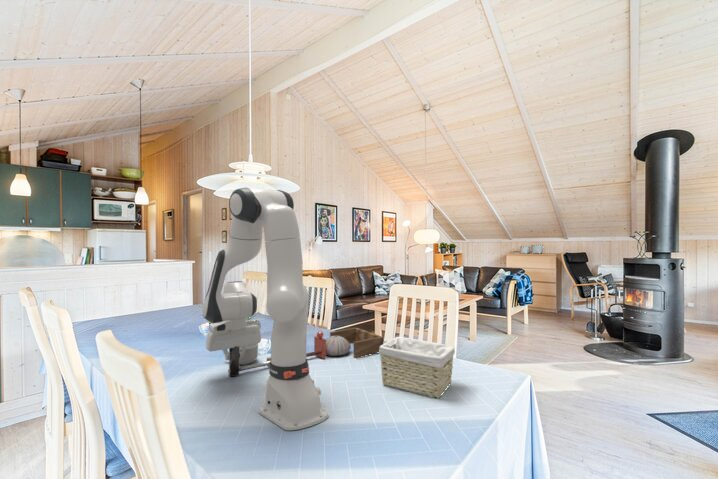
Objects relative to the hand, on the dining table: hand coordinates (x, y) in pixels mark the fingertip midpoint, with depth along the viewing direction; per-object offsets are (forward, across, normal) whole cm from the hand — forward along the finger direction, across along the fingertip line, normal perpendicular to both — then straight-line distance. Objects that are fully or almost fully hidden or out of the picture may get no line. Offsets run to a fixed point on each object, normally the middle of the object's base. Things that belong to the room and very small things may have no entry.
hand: (234, 358), depth 136 cm
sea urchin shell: (+7, -47, 0) cm, 47 cm away
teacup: (+7, -7, -13) cm, 16 cm away
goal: (+7, -58, 0) cm, 58 cm away
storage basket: (+7, -51, +48) cm, 70 cm away
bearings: (+7, -22, 0) cm, 23 cm away
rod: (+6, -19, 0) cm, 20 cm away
